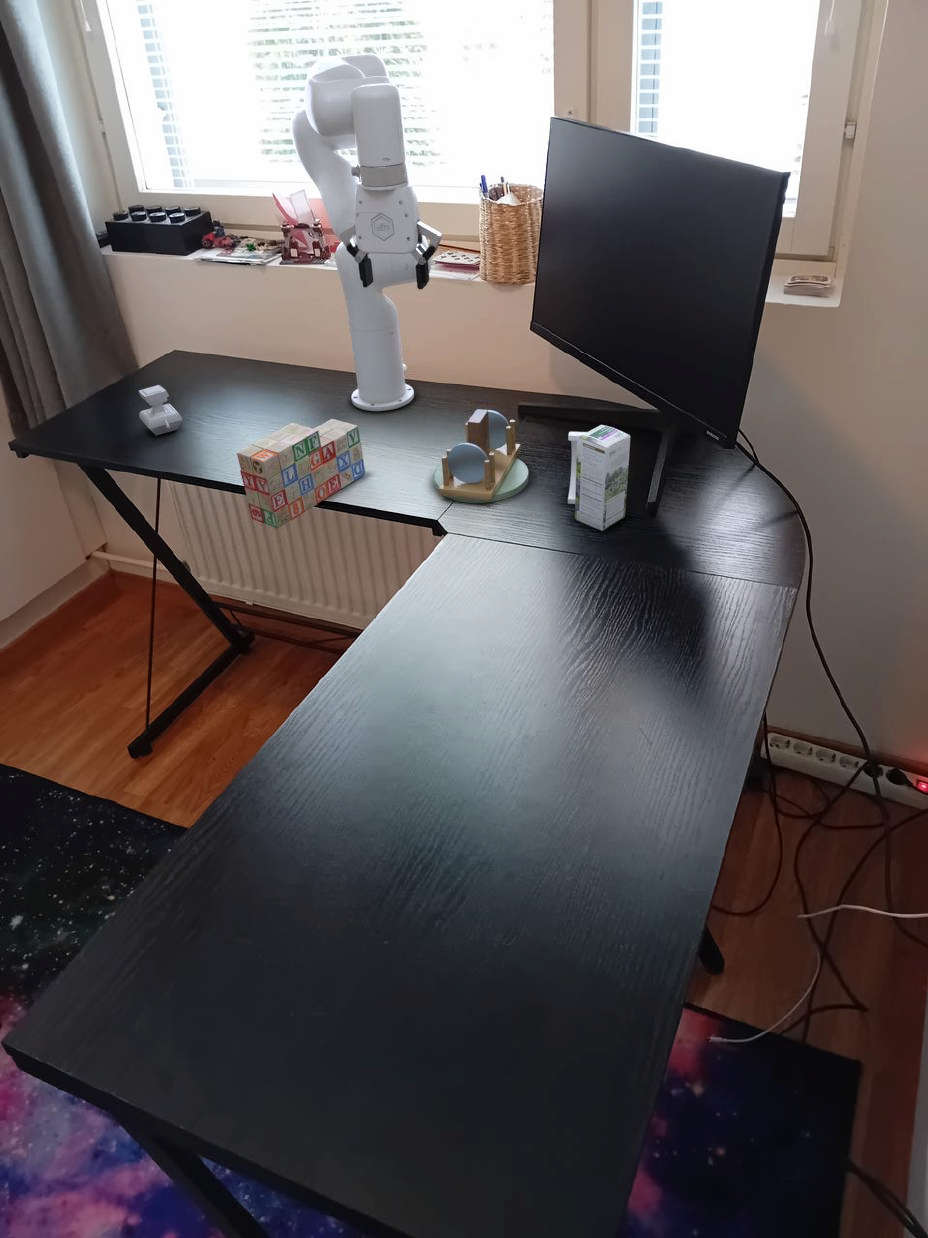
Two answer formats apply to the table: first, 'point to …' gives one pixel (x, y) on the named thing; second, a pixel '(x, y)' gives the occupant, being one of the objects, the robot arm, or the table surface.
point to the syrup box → (601, 476)
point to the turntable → (509, 486)
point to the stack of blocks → (299, 469)
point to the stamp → (159, 411)
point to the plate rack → (480, 457)
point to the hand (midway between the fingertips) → (395, 285)
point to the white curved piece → (573, 465)
